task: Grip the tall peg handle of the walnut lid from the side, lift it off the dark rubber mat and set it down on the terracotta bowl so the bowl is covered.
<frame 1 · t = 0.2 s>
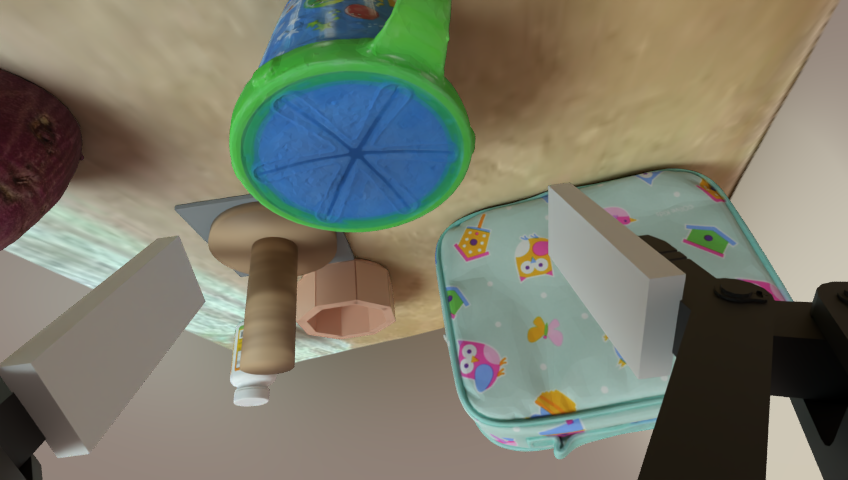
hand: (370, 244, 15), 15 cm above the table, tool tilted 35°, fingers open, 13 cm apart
supplement bottle: (257, 324, 57), on the table
bowl: (346, 280, 49), on the table
lunch box: (552, 211, 43), on the table
mat: (276, 234, 39), on the table
snack cup: (349, 33, 24), on the table
lid: (276, 237, 39), resting on mat
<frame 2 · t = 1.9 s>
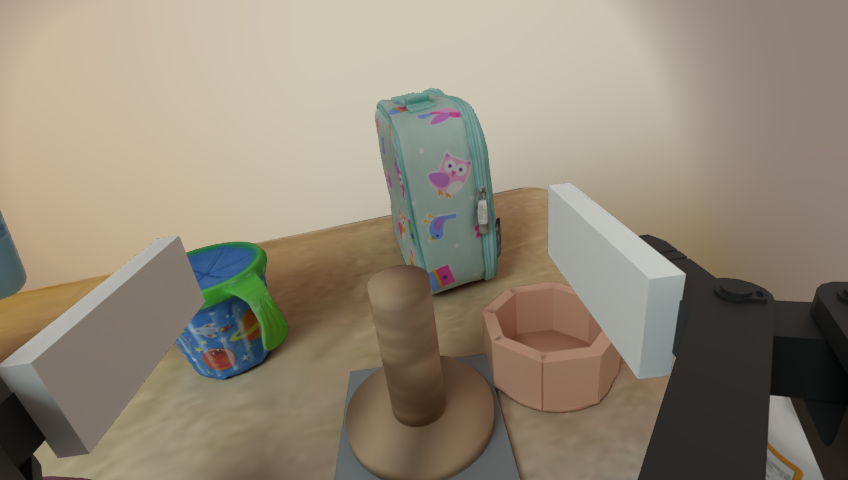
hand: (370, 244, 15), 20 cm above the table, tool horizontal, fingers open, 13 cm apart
bowl: (548, 365, 36), on the table
lunch box: (439, 257, 57), on the table
mat: (421, 420, 32), on the table
snack cup: (237, 356, 42), on the table
lid: (421, 416, 32), resting on mat
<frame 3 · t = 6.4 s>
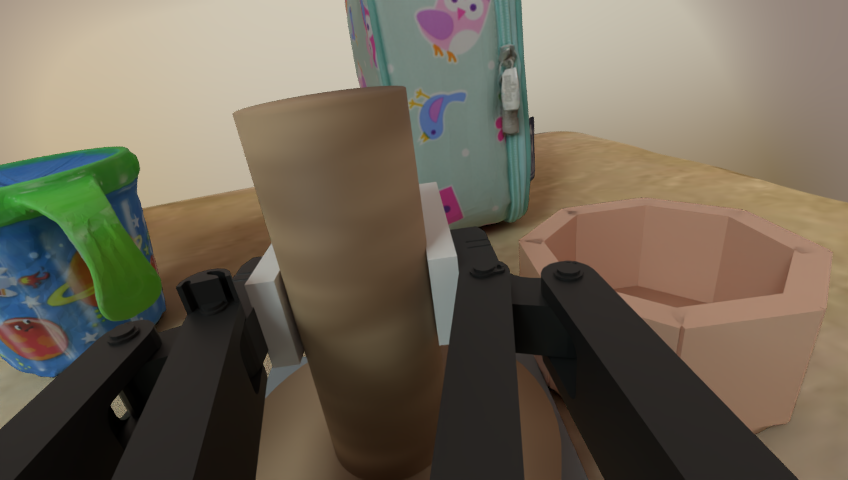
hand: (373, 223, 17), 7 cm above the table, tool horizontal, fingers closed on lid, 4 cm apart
bowl: (645, 346, 19), on the table
lunch box: (438, 202, 40), on the table
mat: (399, 459, 15), on the table
snack cup: (100, 339, 25), on the table
lid: (397, 451, 15), resting on mat, touching gripper
when the fingers open (14 cm above the table, at t = 9.9 s): lid drops 2 cm, resting on bowl.
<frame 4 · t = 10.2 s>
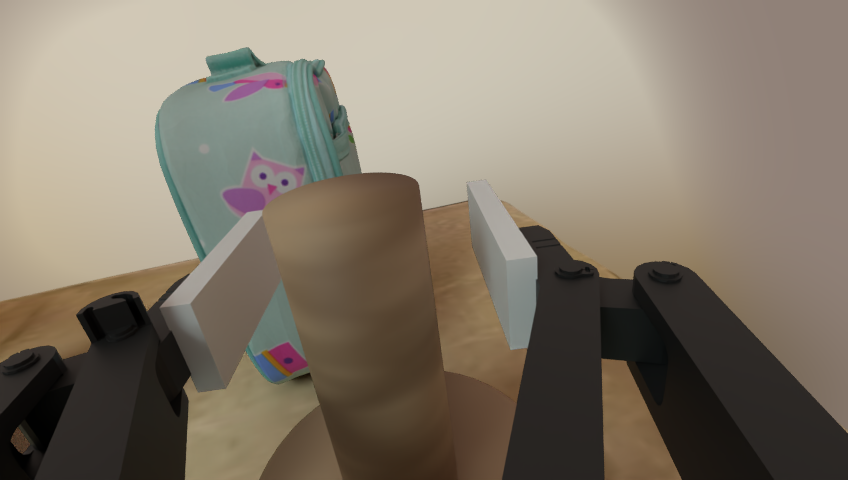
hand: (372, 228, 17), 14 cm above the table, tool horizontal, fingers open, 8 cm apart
lunch box: (331, 305, 39), on the table
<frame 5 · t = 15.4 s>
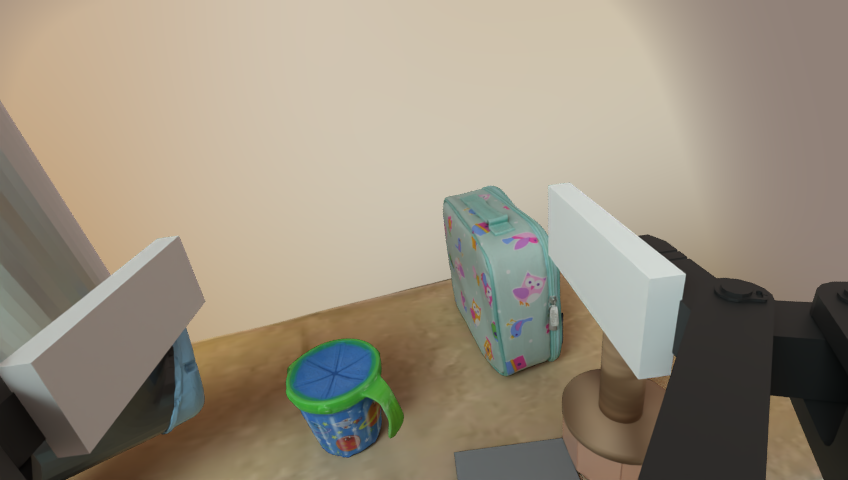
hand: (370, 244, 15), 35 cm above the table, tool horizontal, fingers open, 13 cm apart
bowl: (615, 450, 45), on the table
lunch box: (500, 330, 66), on the table
snack cup: (351, 433, 52), on the table
lid: (619, 416, 43), point 5 cm above the table, touching bowl
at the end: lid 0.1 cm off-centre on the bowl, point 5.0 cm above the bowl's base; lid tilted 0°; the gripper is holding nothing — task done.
